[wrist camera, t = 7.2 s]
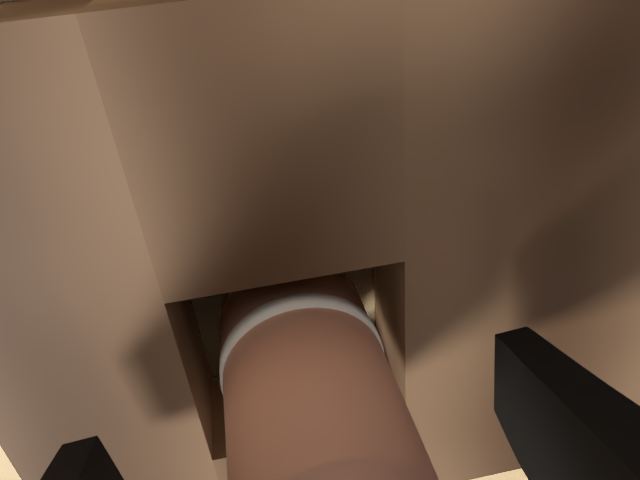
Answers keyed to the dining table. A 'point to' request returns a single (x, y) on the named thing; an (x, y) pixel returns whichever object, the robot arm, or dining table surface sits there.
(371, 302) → the dining table surface
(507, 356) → the robot arm
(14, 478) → the dining table surface
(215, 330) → the dining table surface
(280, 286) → the peg
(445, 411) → the board
